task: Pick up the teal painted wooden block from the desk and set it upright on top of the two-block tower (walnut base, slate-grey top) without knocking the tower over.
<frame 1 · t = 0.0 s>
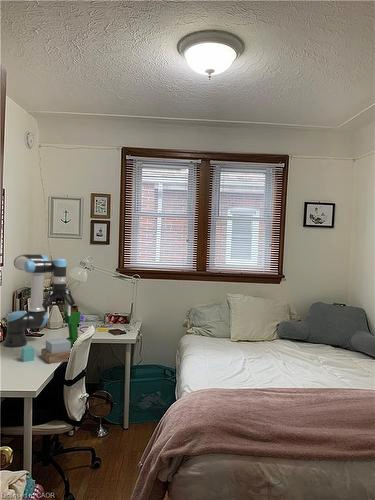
hand: (58, 316, 245), 28 cm above the table, fingers open, 13 cm apart
block: (27, 360, 244), on the table
tower base: (57, 359, 249), on the table, touching tower top
tower top: (57, 350, 249), point 6 cm above the table, touching tower base
toy: (74, 348, 275), on the table
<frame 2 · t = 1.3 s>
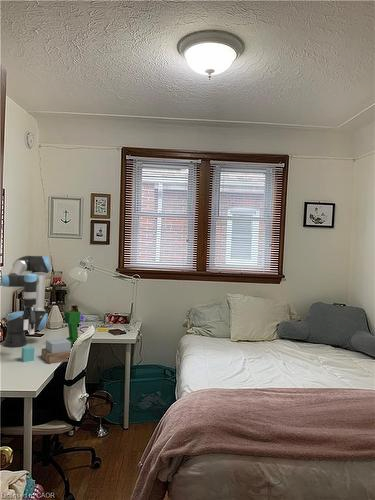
hand: (28, 332, 243), 18 cm above the table, fingers open, 13 cm apart
nothing on the table moved.
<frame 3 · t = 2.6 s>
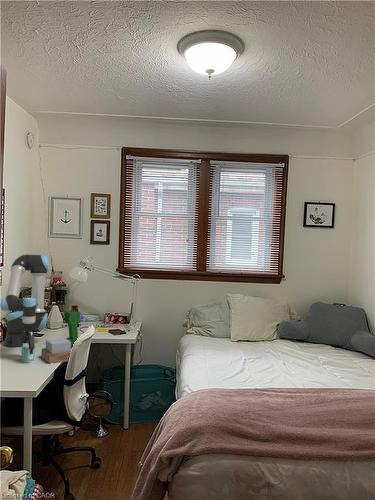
hand: (27, 356, 244), 2 cm above the table, fingers open, 13 cm apart
nothing on the table moved.
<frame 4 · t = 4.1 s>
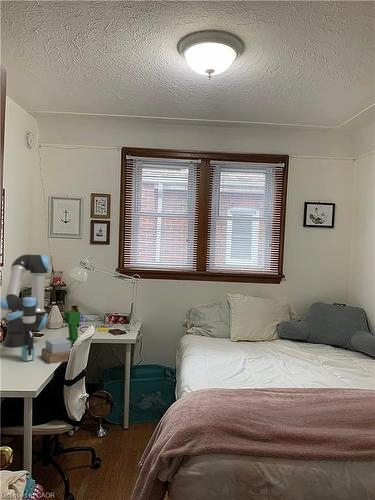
hand: (27, 358, 244), 1 cm above the table, fingers closed on block, 6 cm apart
block: (27, 359, 244), point 1 cm above the table, touching gripper
tower base: (57, 359, 249), on the table
tower top: (58, 350, 249), point 6 cm above the table
everything else where it was.
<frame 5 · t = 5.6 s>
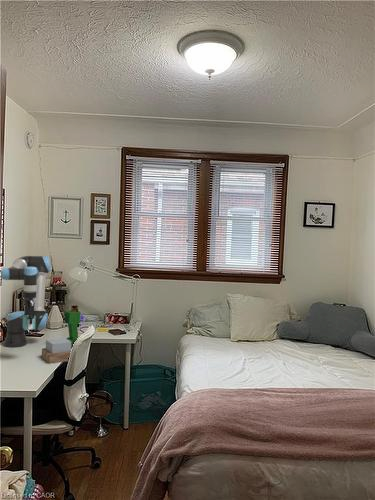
hand: (28, 327, 244), 20 cm above the table, fingers closed on block, 6 cm apart
block: (28, 328, 244), point 20 cm above the table, touching gripper
tower base: (58, 359, 250), on the table, touching tower top
tower top: (58, 350, 249), point 6 cm above the table, touching tower base
everything else where it was.
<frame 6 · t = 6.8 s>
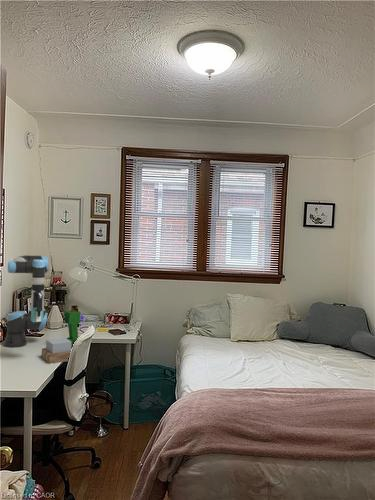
hand: (36, 320, 244), 25 cm above the table, fingers closed on block, 6 cm apart
block: (37, 321, 244), point 25 cm above the table, touching gripper
everything else where it was.
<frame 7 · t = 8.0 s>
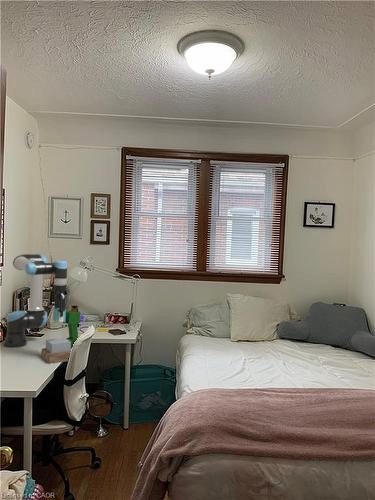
hand: (59, 320, 249), 25 cm above the table, fingers closed on block, 6 cm apart
block: (59, 321, 249), point 24 cm above the table, touching gripper
everything else where it was.
when the fingers open (13 cm above the table, at t = 11.2 s): block drops 2 cm, resting on tower top.
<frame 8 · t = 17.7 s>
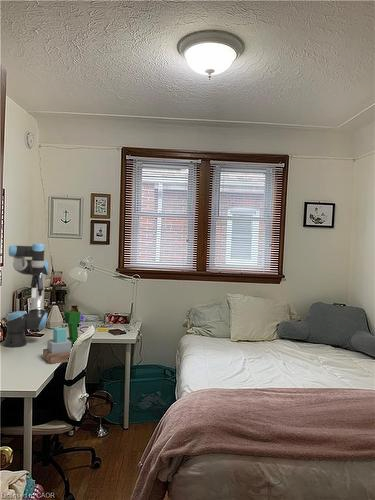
hand: (36, 299, 255), 37 cm above the table, fingers open, 13 cm apart
block: (59, 341, 249), point 11 cm above the table, touching tower top
tower base: (59, 359, 249), on the table, touching tower top
tower top: (59, 350, 249), point 5 cm above the table, touching block, tower base
everything else where it was.
at the end: block 0.2 cm off-centre on the tower top, point 6.0 cm above the tower top's base; block tilted 0°; tower top moved 0.9 cm from its start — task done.
